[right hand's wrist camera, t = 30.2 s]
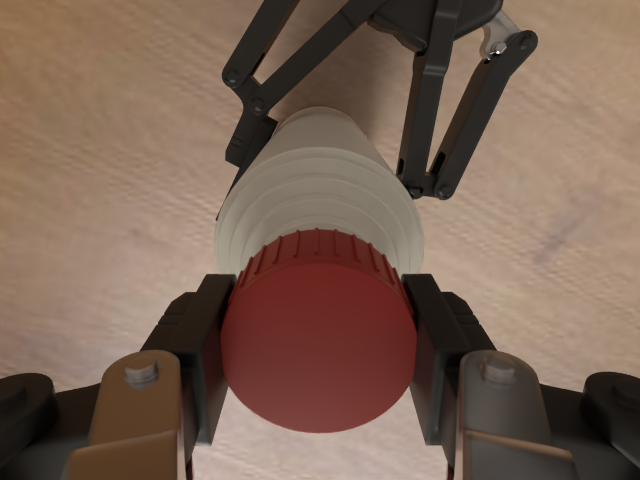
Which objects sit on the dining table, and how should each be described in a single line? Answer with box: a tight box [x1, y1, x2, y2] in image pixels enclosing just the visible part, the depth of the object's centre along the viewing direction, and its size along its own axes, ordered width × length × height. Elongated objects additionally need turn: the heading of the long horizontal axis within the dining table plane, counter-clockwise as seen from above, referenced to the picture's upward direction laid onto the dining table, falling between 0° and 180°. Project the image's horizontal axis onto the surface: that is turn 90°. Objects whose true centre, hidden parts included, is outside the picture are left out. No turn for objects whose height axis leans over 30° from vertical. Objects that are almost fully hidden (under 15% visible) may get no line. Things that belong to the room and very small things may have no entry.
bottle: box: [214, 106, 424, 280], centre depth 22 cm, size 7×7×24 cm
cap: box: [220, 228, 417, 433], centre depth 11 cm, size 4×4×2 cm
